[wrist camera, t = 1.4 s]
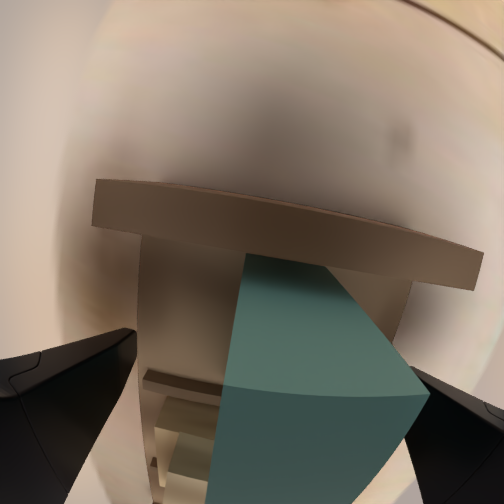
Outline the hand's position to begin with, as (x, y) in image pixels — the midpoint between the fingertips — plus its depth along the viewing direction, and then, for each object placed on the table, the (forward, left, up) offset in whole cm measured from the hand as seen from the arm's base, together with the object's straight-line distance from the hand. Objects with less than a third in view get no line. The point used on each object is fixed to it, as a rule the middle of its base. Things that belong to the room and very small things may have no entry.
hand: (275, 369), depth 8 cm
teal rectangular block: (0, 0, -3) cm, 3 cm away
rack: (-6, -4, -4) cm, 8 cm away
